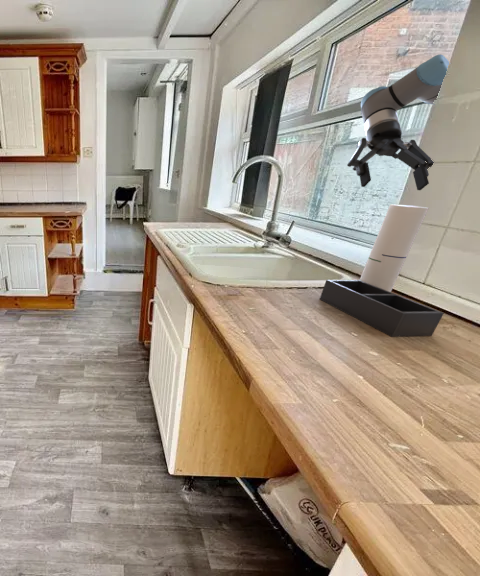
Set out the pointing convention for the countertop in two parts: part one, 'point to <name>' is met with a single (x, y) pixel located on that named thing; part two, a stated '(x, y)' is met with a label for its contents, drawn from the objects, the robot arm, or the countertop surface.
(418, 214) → the cylindrical container
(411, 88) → the robot arm
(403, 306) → the divided tray
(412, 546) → the countertop surface
